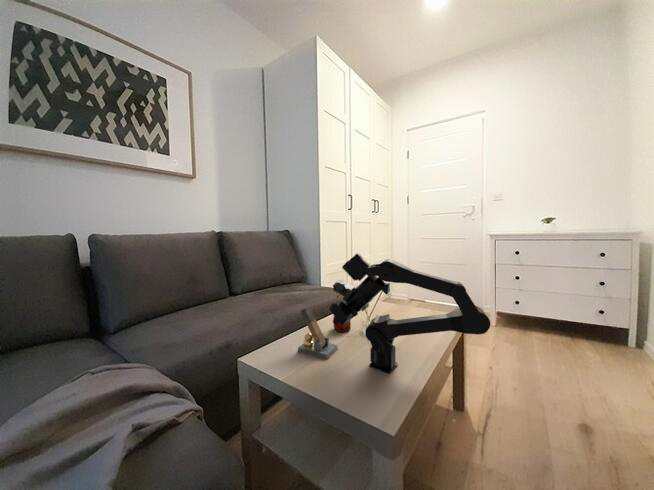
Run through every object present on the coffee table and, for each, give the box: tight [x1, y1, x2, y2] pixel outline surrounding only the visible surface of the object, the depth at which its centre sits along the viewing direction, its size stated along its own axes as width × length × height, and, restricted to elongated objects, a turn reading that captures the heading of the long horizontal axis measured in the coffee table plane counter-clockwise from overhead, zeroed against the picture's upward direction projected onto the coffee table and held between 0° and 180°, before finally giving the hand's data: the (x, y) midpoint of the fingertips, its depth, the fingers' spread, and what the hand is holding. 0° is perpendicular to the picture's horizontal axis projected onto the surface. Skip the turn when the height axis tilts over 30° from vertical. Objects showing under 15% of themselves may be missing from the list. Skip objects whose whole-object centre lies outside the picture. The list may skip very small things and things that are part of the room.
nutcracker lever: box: [300, 306, 326, 347], centre depth 85 cm, size 2×3×14 cm, turn 152°
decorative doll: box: [332, 293, 352, 333], centre depth 103 cm, size 8×7×15 cm
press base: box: [297, 332, 338, 360], centre depth 85 cm, size 11×8×5 cm
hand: (334, 322), depth 81 cm, fingers closed
